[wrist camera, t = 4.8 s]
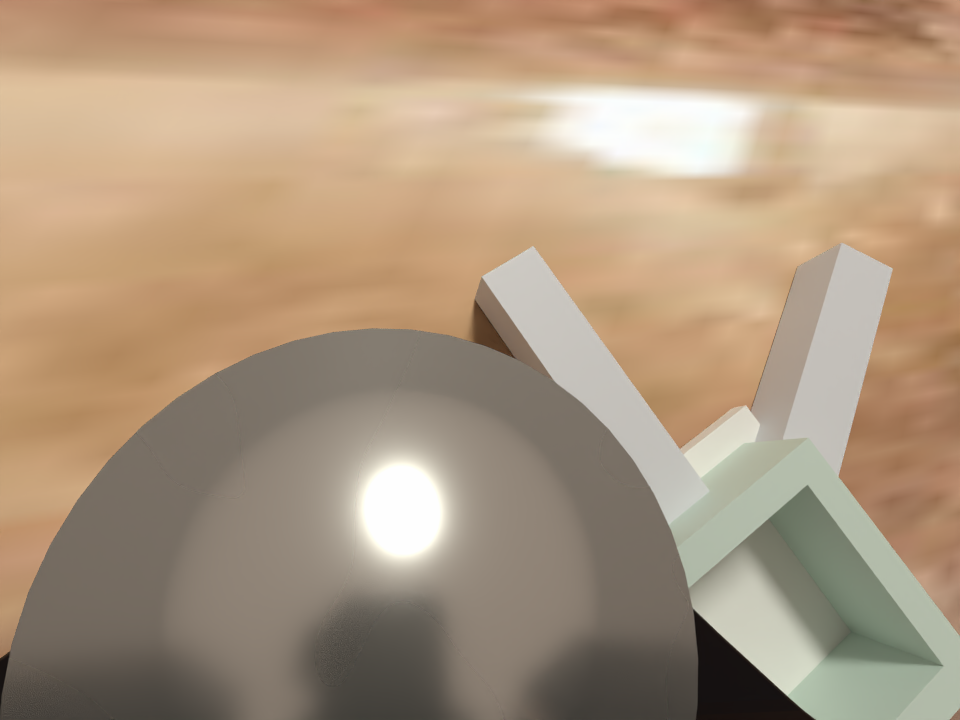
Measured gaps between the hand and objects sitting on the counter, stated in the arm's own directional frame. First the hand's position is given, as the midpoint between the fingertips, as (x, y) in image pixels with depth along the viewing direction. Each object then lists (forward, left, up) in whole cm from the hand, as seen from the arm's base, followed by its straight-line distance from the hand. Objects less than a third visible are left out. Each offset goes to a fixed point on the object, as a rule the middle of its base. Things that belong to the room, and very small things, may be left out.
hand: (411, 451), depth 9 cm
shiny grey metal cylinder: (-1, +1, -8) cm, 8 cm away
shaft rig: (-6, -10, -8) cm, 14 cm away
